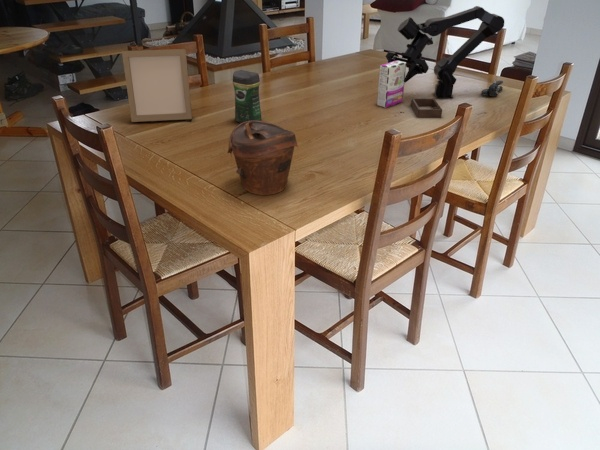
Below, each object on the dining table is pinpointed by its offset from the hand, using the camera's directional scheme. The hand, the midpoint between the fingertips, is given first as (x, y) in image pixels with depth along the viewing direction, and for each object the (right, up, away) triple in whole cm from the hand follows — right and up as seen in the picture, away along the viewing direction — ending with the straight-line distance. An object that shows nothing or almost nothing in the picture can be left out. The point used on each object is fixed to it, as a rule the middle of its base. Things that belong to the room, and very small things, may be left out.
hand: (395, 79), depth 202 cm
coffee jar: (-58, -20, -14) cm, 63 cm away
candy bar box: (-2, -9, +4) cm, 10 cm away
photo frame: (-91, -17, -10) cm, 93 cm away
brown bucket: (-49, -47, -58) cm, 90 cm away
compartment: (+11, -14, -4) cm, 18 cm away
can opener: (+46, -1, +17) cm, 50 cm away
